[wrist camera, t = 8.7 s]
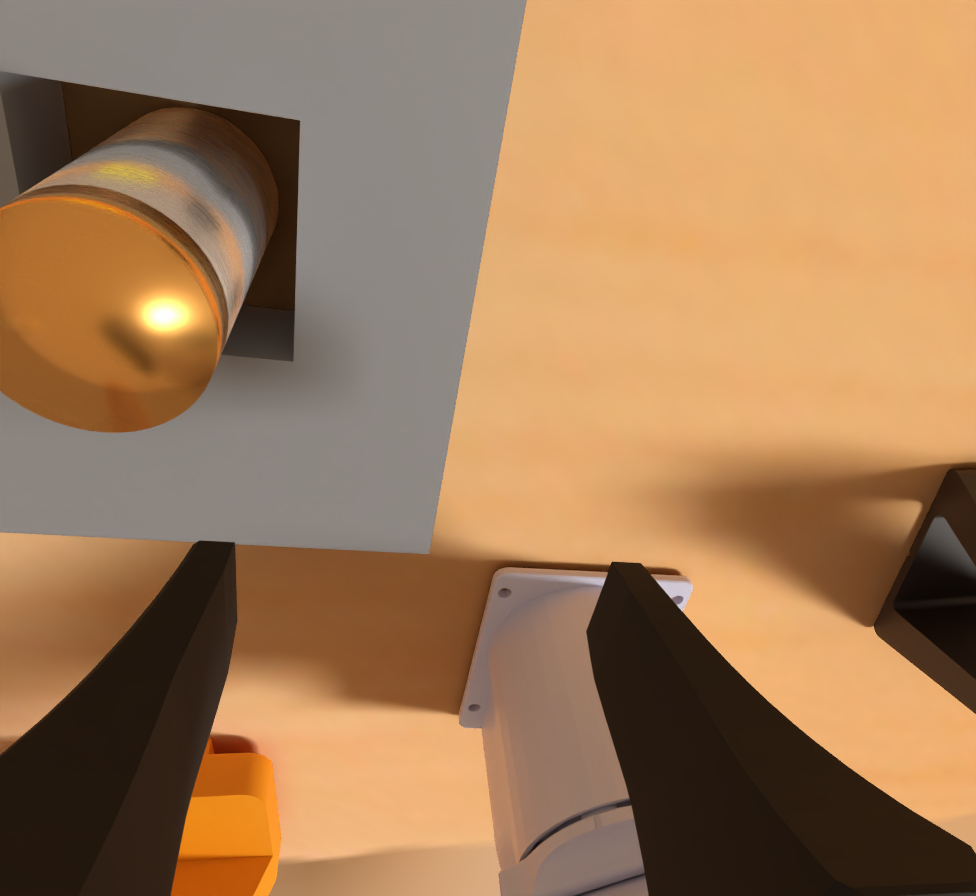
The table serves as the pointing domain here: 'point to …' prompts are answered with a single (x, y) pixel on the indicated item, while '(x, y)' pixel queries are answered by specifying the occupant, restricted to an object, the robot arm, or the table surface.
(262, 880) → the bracket
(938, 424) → the table surface
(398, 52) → the dock plate
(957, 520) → the phone stand
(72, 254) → the glass jar with lid
